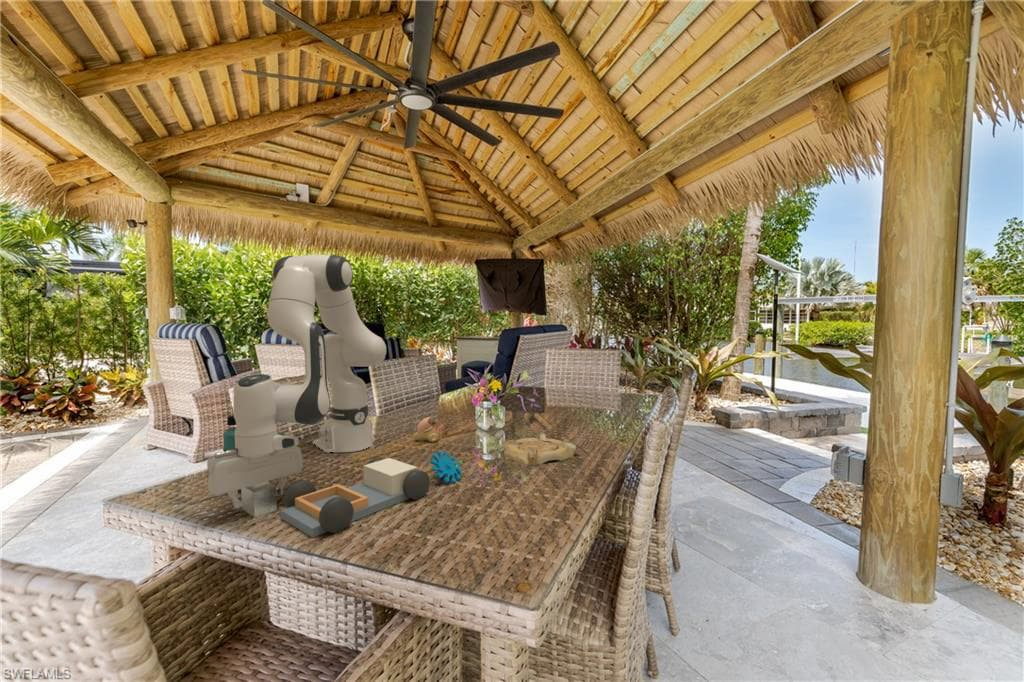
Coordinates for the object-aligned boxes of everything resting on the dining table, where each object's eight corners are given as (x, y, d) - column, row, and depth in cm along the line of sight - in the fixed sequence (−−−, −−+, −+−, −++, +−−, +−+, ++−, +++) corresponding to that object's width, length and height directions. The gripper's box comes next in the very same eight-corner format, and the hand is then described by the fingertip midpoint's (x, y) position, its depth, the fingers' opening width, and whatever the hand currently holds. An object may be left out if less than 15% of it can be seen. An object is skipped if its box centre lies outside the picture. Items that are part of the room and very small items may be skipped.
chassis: (277, 516, 108) (276, 486, 107) (391, 477, 133) (391, 453, 132) (317, 540, 97) (316, 508, 96) (434, 492, 121) (433, 466, 121)
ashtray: (584, 464, 145) (584, 448, 144) (509, 468, 141) (509, 452, 140) (563, 442, 168) (563, 428, 168) (498, 445, 164) (498, 431, 164)
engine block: (242, 509, 112) (241, 485, 111) (263, 502, 116) (262, 479, 115) (254, 517, 107) (253, 492, 107) (276, 510, 111) (276, 486, 111)
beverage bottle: (249, 482, 128) (246, 411, 127) (256, 489, 124) (253, 415, 122) (221, 489, 124) (218, 415, 122) (228, 496, 119) (225, 419, 118)
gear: (442, 483, 124) (427, 451, 129) (430, 495, 126) (416, 463, 131) (471, 477, 132) (456, 447, 137) (460, 488, 135) (445, 458, 140)
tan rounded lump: (447, 442, 169) (436, 428, 162) (423, 455, 168) (410, 442, 162) (441, 424, 175) (430, 410, 169) (417, 437, 175) (405, 423, 168)
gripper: (212, 457, 100) (215, 520, 101) (304, 437, 116) (306, 491, 117) (201, 452, 104) (204, 512, 105) (292, 432, 120) (294, 485, 121)
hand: (259, 500), depth 111 cm, fingers open, 8 cm apart
